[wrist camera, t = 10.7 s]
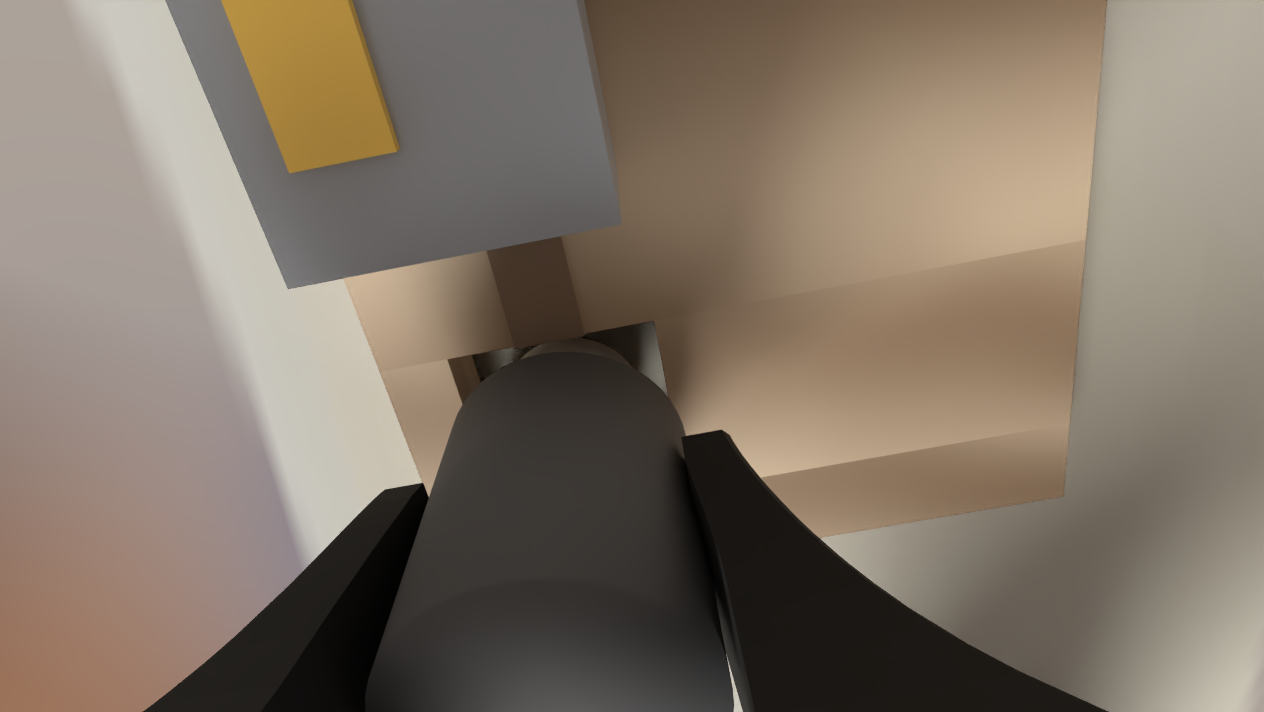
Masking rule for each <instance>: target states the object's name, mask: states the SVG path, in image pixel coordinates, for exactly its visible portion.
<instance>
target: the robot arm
mask: <svg viewBox="0 0 1264 712" xmlns="http://www.w3.org/2000/svg"><path fill="white" fill-rule="evenodd" d="M681 439H682V445H683V451H684V457H685V463H686V468H687V473H688V479H689V484H690V489H691V495H692V500H693V505H694V508H695V512H696V515H697V519H698V523H699V526H700V530H701V534H702V537H703V541H704V545H705V549H706V553H707V557H708V561H709V565H710V570H711V574H712V580H713V585H714V590H715V596H716V601H717V607H718V612H719V618H720V623H721V629H722V634H723V639H724V645H725V650H726V654H727V657H728V661H729V664H730V668H731V671H732V675H733V678H734V682H735V685H736V689H737V692H738V696H739V699H740V702H741V706H742V709H743V712H1108V711H1105V710H1103V709H1101V708H1099V707H1097V706H1094V705H1092V704H1090V703H1088V702H1086V701H1083V700H1081V699H1079V698H1077V697H1075V696H1072V695H1070V694H1068V693H1066V692H1063V691H1061V690H1059V689H1057V688H1055V687H1052V686H1050V685H1048V684H1046V683H1044V682H1041V681H1039V680H1037V679H1035V678H1033V677H1030V676H1028V675H1026V674H1024V673H1022V672H1020V671H1018V670H1016V669H1014V668H1012V667H1010V666H1008V665H1006V664H1004V663H1002V662H1001V661H999V660H997V659H995V658H993V657H991V656H989V655H987V654H985V653H984V652H982V651H980V650H978V649H976V648H974V647H972V646H970V645H969V644H967V643H965V642H964V641H962V640H960V639H959V638H957V637H955V636H954V635H952V634H951V633H949V632H947V631H946V630H944V629H942V628H941V627H939V626H938V625H936V624H934V623H933V622H931V621H929V620H928V619H926V618H925V617H923V616H921V615H920V614H918V613H916V612H915V611H913V610H912V609H910V608H908V607H907V606H906V605H904V604H903V603H901V602H900V601H898V600H897V599H896V598H894V597H893V596H891V595H890V594H889V593H887V592H886V591H884V590H883V589H881V588H880V587H879V586H877V585H876V584H874V583H873V582H872V581H871V580H869V579H868V578H867V577H865V576H864V575H863V574H862V573H860V572H859V571H858V570H856V569H855V568H854V567H852V566H851V565H850V564H849V563H847V562H846V561H845V560H844V559H843V558H841V557H840V556H839V555H838V554H837V553H836V552H834V551H833V550H832V549H831V548H830V547H829V546H827V545H826V544H825V543H824V542H823V541H822V540H821V539H820V538H819V537H818V536H816V535H815V534H814V533H813V532H812V531H811V530H810V529H809V528H808V527H807V526H806V525H805V524H804V523H803V522H802V521H801V520H799V519H798V518H797V517H796V516H795V515H794V514H793V513H792V512H791V511H790V510H789V508H788V507H787V506H786V505H785V504H784V503H783V502H782V501H781V500H780V499H779V498H778V497H777V496H776V495H775V493H774V492H773V491H772V490H771V489H770V488H769V487H768V486H767V485H766V484H765V482H764V481H763V480H762V479H761V478H760V477H759V475H758V474H757V473H756V472H755V470H754V469H753V468H752V467H751V465H750V464H749V463H748V462H747V460H746V459H745V458H744V456H743V455H742V454H741V452H740V451H739V449H738V448H737V446H736V445H735V443H734V441H733V440H732V438H731V436H730V435H729V434H728V433H726V432H725V431H723V430H716V431H711V432H705V433H700V434H694V435H688V436H683V437H681ZM428 499H429V496H428V494H427V491H426V489H425V486H424V484H423V483H420V484H414V485H409V486H403V487H397V488H392V489H386V490H384V491H383V492H382V493H380V494H379V495H378V496H377V497H376V498H375V499H374V500H373V501H372V502H371V503H370V504H369V505H368V506H367V507H366V508H365V509H364V510H363V511H362V512H361V513H360V514H359V515H358V516H357V517H356V518H355V519H354V520H353V521H352V522H351V523H350V524H349V525H348V526H347V527H346V528H345V529H344V530H343V531H342V532H341V533H340V534H339V535H338V536H337V537H336V538H335V539H334V540H333V541H332V542H331V543H330V544H329V545H328V546H327V547H326V548H325V550H324V551H323V552H322V553H321V554H320V555H319V556H318V557H317V558H316V559H315V560H314V561H313V562H312V563H311V564H310V565H309V566H308V567H307V568H306V569H305V570H304V571H303V572H302V573H301V574H300V575H299V576H298V577H297V578H296V579H295V580H294V581H293V582H292V583H291V584H290V585H289V586H288V587H287V588H286V589H285V590H284V591H283V592H282V593H281V594H279V595H278V597H276V598H275V599H274V600H273V601H272V602H271V603H270V604H269V605H268V606H267V607H266V608H265V609H264V610H263V611H261V612H260V613H259V614H258V615H257V616H256V617H255V618H254V619H253V620H252V621H251V622H250V623H249V624H248V625H247V626H246V627H245V628H243V630H242V631H240V632H239V633H238V634H237V635H236V636H235V637H234V638H233V639H232V640H230V641H229V642H228V643H227V644H226V645H225V646H224V647H222V648H221V649H220V650H219V651H218V652H217V653H216V654H214V655H213V656H212V657H211V658H210V659H208V660H207V661H206V662H205V663H204V664H203V665H202V666H200V667H199V668H198V669H197V670H195V671H194V672H193V673H192V674H191V675H189V676H188V677H187V678H185V679H184V680H183V681H182V682H181V683H179V684H178V685H177V686H176V687H174V688H173V689H172V690H171V691H170V692H168V693H167V694H166V695H164V696H163V697H162V698H160V699H159V700H158V701H157V702H155V703H154V704H153V705H151V706H150V707H149V708H147V709H146V710H145V711H143V712H365V694H366V688H367V683H368V679H369V676H370V673H371V670H372V667H373V664H374V661H375V658H376V655H377V652H378V649H379V646H380V643H381V640H382V637H383V634H384V631H385V628H386V625H387V622H388V619H389V616H390V613H391V610H392V607H393V604H394V601H395V598H396V595H397V592H398V589H399V586H400V583H401V580H402V577H403V574H404V571H405V568H406V565H407V562H408V559H409V556H410V553H411V550H412V547H413V544H414V541H415V538H416V535H417V532H418V529H419V526H420V523H421V520H422V517H423V514H424V511H425V508H426V505H427V502H428Z"/></svg>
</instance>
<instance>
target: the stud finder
mask: <svg viewBox="0 0 1264 712" xmlns="http://www.w3.org/2000/svg"><path fill="white" fill-rule="evenodd" d="M165 1H166V3H167V5H168V8H169V10H170V12H171V15H172V17H173V19H174V22H175V24H176V26H177V29H178V31H179V34H180V36H181V38H182V41H183V43H184V45H185V48H186V50H187V52H188V55H189V57H190V59H191V62H192V64H193V67H194V69H195V71H196V74H197V76H198V78H199V81H200V83H201V85H202V88H203V90H204V92H205V95H206V97H207V99H208V102H209V104H210V107H211V109H212V111H213V114H214V116H215V118H216V121H217V123H218V125H219V128H220V130H221V132H222V135H223V137H224V140H225V142H226V144H227V147H228V149H229V151H230V154H231V156H232V158H233V161H234V163H235V165H236V168H237V170H238V173H239V175H240V177H241V180H242V182H243V184H244V187H245V189H246V191H247V194H248V196H249V198H250V201H251V203H252V205H253V208H254V210H255V213H256V215H257V217H258V220H259V222H260V224H261V227H262V229H263V231H264V234H265V236H266V238H267V241H268V243H269V246H270V248H271V250H272V253H273V255H274V257H275V260H276V262H277V264H278V267H279V269H280V271H281V274H282V276H283V279H284V281H285V283H286V286H287V288H288V289H291V288H296V287H302V286H307V285H312V284H317V283H322V282H327V281H333V280H338V279H343V278H348V277H353V276H358V275H363V274H369V273H374V272H379V271H384V270H389V269H394V268H399V267H405V266H410V265H415V264H420V263H425V262H430V261H436V260H441V259H446V258H451V257H456V256H461V255H466V254H472V253H477V252H482V251H487V250H492V249H497V248H502V247H508V246H513V245H518V244H523V243H528V242H533V241H539V240H544V239H549V238H554V237H559V236H564V235H569V234H575V233H580V232H585V231H590V230H595V229H600V228H605V227H611V226H616V225H621V211H620V199H619V187H618V174H617V165H616V159H615V154H614V149H613V144H612V139H611V134H610V129H609V124H608V119H607V114H606V109H605V104H604V98H603V93H602V88H601V83H600V78H599V73H598V68H597V63H596V58H595V53H594V48H593V42H592V37H591V32H590V27H589V22H588V17H587V12H586V7H585V2H584V0H165Z"/></svg>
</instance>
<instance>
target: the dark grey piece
mask: <svg viewBox="0 0 1264 712" xmlns="http://www.w3.org/2000/svg"><path fill="white" fill-rule="evenodd" d="M683 436H686V434H685V430H684V427H683V423H682V421H681V419H680V417H679V414H678V412H677V410H676V409H675V407H674V406H673V404H672V402H671V401H670V399H669V398H668V397H667V396H666V395H665V393H664V392H663V391H662V390H661V389H660V388H659V387H658V386H657V385H656V384H655V383H654V382H652V381H651V380H650V379H649V378H648V377H646V376H645V375H643V374H642V373H640V372H639V371H637V370H636V369H634V368H632V367H631V366H630V365H629V363H628V362H627V361H626V360H625V359H624V358H623V357H622V356H621V355H620V354H619V353H617V352H616V351H614V350H613V349H612V348H610V347H608V346H606V345H604V344H602V343H599V342H596V341H593V340H589V339H583V338H572V339H566V340H561V341H556V342H550V343H545V344H540V345H539V346H537V347H535V348H533V349H532V350H530V351H529V352H527V353H526V354H525V355H524V356H523V357H522V358H521V359H520V360H518V361H516V362H513V363H510V364H508V365H507V366H505V367H503V368H501V369H499V370H497V371H496V372H494V373H493V374H491V375H490V376H489V377H487V378H486V379H485V380H483V381H482V382H481V383H480V384H479V385H478V386H477V387H476V388H475V389H474V390H473V391H472V392H471V394H470V395H469V396H468V397H467V399H466V400H465V401H464V403H463V405H462V406H461V408H460V410H459V412H458V414H457V416H456V419H455V421H454V424H453V427H452V430H451V433H450V436H449V439H448V442H447V445H446V448H445V451H444V454H443V457H442V460H441V463H440V466H439V469H438V472H437V475H436V478H435V481H434V484H433V487H432V490H431V493H430V496H429V499H428V502H427V505H426V508H425V511H424V514H423V517H422V520H421V523H420V526H419V529H418V532H417V535H416V538H415V541H414V544H413V547H412V550H411V553H410V556H409V559H408V562H407V565H406V568H405V571H404V574H403V577H402V580H401V583H400V586H399V589H398V592H397V595H396V598H395V601H394V604H393V607H392V610H391V613H390V616H389V619H388V622H387V625H386V628H385V631H384V634H383V637H382V640H381V643H380V646H379V649H378V652H377V655H376V658H375V661H374V664H373V667H372V670H371V673H370V676H369V679H368V683H367V688H366V694H365V712H733V710H734V699H733V688H732V683H731V677H730V672H729V667H728V661H727V656H726V650H725V645H724V639H723V634H722V629H721V623H720V618H719V612H718V607H717V601H716V596H715V590H714V585H713V580H712V574H711V570H710V565H709V561H708V557H707V553H706V549H705V545H704V541H703V537H702V534H701V530H700V526H699V523H698V519H697V515H696V512H695V508H694V505H693V500H692V495H691V489H690V484H689V479H688V473H687V468H686V463H685V457H684V451H683V445H682V439H681V437H683Z"/></svg>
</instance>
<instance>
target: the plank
mask: <svg viewBox="0 0 1264 712" xmlns="http://www.w3.org/2000/svg"><path fill="white" fill-rule="evenodd" d="M584 2H585V7H586V12H587V17H588V22H589V27H590V32H591V37H592V42H593V48H594V53H595V58H596V63H597V68H598V73H599V78H600V83H601V88H602V93H603V98H604V104H605V109H606V114H607V119H608V124H609V129H610V134H611V139H612V144H613V149H614V154H615V159H616V165H617V174H618V187H619V199H620V211H621V225H616V226H611V227H605V228H600V229H595V230H590V231H585V232H580V233H575V234H569V235H564V236H559V237H554V238H549V239H544V240H539V241H533V242H528V243H523V244H518V245H513V246H508V247H502V248H497V249H492V250H487V251H482V252H477V253H472V254H466V255H461V256H456V257H451V258H446V259H441V260H436V261H430V262H425V263H420V264H415V265H410V266H405V267H399V268H394V269H389V270H384V271H379V272H374V273H369V274H363V275H358V276H353V277H348V278H344V281H345V284H346V286H347V289H348V291H349V294H350V297H351V299H352V302H353V304H354V307H355V309H356V312H357V315H358V317H359V320H360V322H361V325H362V328H363V330H364V333H365V335H366V338H367V341H368V343H369V346H370V348H371V351H372V354H373V356H374V359H375V361H376V364H377V366H378V369H379V372H380V374H381V377H382V379H383V382H384V385H385V387H386V390H387V392H388V395H389V398H390V400H391V403H392V405H393V408H394V411H395V413H396V416H397V418H398V421H399V423H400V426H401V429H402V431H403V434H404V436H405V439H406V442H407V444H408V447H409V449H410V452H411V455H412V457H413V460H414V462H415V465H416V468H417V470H418V473H419V475H420V478H421V480H422V483H423V484H424V486H425V489H426V491H427V494H428V496H430V493H431V490H432V487H433V484H434V481H435V478H436V475H437V472H438V469H439V466H440V463H441V460H442V457H443V454H444V451H445V448H446V445H447V442H448V439H449V436H450V433H451V430H452V427H453V424H454V421H455V419H456V416H457V414H458V412H459V410H460V408H461V406H462V405H463V403H464V401H465V400H466V399H467V397H468V396H469V395H470V394H471V392H472V391H473V390H474V389H475V388H476V387H477V386H478V385H479V384H480V383H481V382H480V379H479V376H478V373H477V370H476V367H475V363H474V360H473V357H472V355H473V354H478V353H484V352H489V351H494V350H500V349H505V348H510V347H514V348H515V349H518V348H524V347H529V346H534V345H540V344H545V343H550V342H556V341H561V340H566V339H572V338H577V337H582V336H584V334H585V333H591V332H596V331H601V330H607V329H612V328H617V327H623V326H628V325H633V324H639V323H644V322H649V321H654V324H655V329H656V334H657V339H658V345H659V350H660V355H661V360H662V365H663V371H664V376H665V381H666V386H667V391H668V397H669V399H670V401H671V402H672V404H673V406H674V407H675V409H676V410H677V412H678V414H679V417H680V419H681V421H682V423H683V427H684V430H685V434H686V436H688V435H694V434H700V433H705V432H711V431H716V430H723V431H725V432H726V433H728V434H729V435H730V436H731V438H732V440H733V441H734V443H735V445H736V446H737V448H738V449H739V451H740V452H741V454H742V455H743V456H744V458H745V459H746V460H747V462H748V463H749V464H750V465H751V467H752V468H753V469H754V470H755V472H756V473H757V474H758V475H759V477H760V478H761V479H762V480H763V481H764V482H765V484H766V485H767V486H768V487H769V488H770V489H771V490H772V491H773V492H774V493H775V495H776V496H777V497H778V498H779V499H780V500H781V501H782V502H783V503H784V504H785V505H786V506H787V507H788V508H789V510H790V511H791V512H792V513H793V514H794V515H795V516H796V517H797V518H798V519H799V520H801V521H802V522H803V523H804V524H805V525H806V526H807V527H808V528H809V529H810V530H811V531H812V532H813V533H814V534H815V535H816V536H818V537H819V538H821V537H827V536H833V535H838V534H844V533H850V532H856V531H862V530H868V529H874V528H880V527H886V526H891V525H897V524H903V523H909V522H915V521H921V520H927V519H933V518H938V517H944V516H950V515H956V514H962V513H968V512H974V511H980V510H985V509H991V508H997V507H1003V506H1009V505H1015V504H1021V503H1027V502H1033V501H1038V500H1044V499H1050V498H1056V497H1062V496H1063V495H1064V483H1065V472H1066V460H1067V449H1068V438H1069V426H1070V415H1071V404H1072V392H1073V381H1074V370H1075V358H1076V347H1077V335H1078V324H1079V313H1080V301H1081V290H1082V279H1083V267H1084V256H1085V245H1086V233H1087V222H1088V210H1089V199H1090V188H1091V176H1092V165H1093V154H1094V142H1095V131H1096V120H1097V108H1098V97H1099V85H1100V74H1101V63H1102V51H1103V40H1104V29H1105V17H1106V6H1107V0H584Z"/></svg>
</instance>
